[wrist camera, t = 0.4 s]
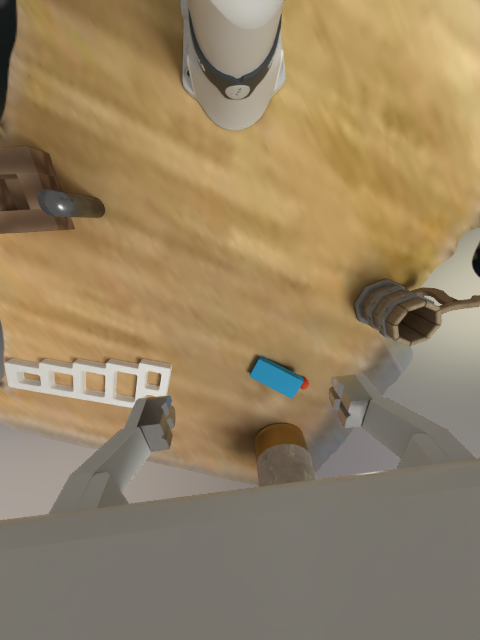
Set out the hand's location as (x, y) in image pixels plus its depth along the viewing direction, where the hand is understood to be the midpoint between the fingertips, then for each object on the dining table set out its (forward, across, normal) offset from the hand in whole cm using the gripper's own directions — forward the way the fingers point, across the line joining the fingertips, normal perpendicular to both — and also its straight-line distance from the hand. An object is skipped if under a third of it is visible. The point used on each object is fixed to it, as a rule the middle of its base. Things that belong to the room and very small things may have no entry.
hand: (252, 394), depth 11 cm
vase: (+41, -12, +71) cm, 83 cm away
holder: (+47, +44, +34) cm, 73 cm away
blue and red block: (+44, -13, +40) cm, 61 cm away
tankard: (+44, -43, +18) cm, 64 cm away
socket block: (+49, +41, -13) cm, 65 cm away
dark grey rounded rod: (+49, +28, -9) cm, 57 cm away
